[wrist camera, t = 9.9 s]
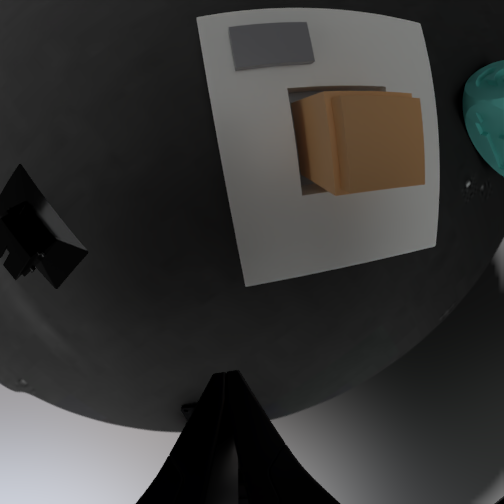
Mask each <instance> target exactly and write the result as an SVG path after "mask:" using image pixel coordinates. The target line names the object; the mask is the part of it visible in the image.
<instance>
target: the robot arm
mask: <svg viewBox="0 0 504 504" xmlns="http://www.w3.org/2000/svg"><path fill="white" fill-rule="evenodd" d="M181 411H182V413H183V414H184V416H185V418H186V419H187V421H188V422H187V423H186V425H185V427H184V429H183V431H182V432H181V434H180V436H179V438H178V440H177V442H176V444H175V445H174V447H173V449H172V451H171V452H170V456H168V457H167V459H166V461H165V463H164V465H163V467H162V468H161V470H160V471H159V473H158V475H157V476H156V478H155V479H154V480H153V482H152V483H151V485H150V486H149V488H148V489H147V490H146V491H145V493H144V494H143V495H142V496H141V498H140V499H139V500H138V502H137V503H136V504H340V503H339V502H338V501H337V500H336V499H335V498H333V497H332V496H331V495H330V494H329V493H328V492H327V491H326V490H325V489H324V488H323V487H322V486H321V485H320V484H319V483H318V482H316V480H314V478H312V476H311V475H310V474H309V473H308V472H307V471H306V470H305V469H304V468H303V467H302V466H301V464H300V463H299V462H298V460H297V459H296V458H295V456H294V455H293V454H292V452H291V451H290V449H289V448H288V446H287V445H285V443H284V441H283V439H282V438H281V436H280V435H279V434H278V432H277V430H276V429H275V427H274V426H273V424H272V423H271V421H270V420H269V418H268V416H267V415H266V413H265V412H264V410H263V409H262V407H261V405H260V404H259V402H258V401H257V399H256V397H255V396H254V394H253V393H252V391H251V389H250V388H249V386H248V384H247V383H246V381H245V379H244V378H243V376H242V374H241V373H240V371H239V370H235V371H229V372H227V373H225V372H221V373H215V374H213V375H212V377H211V379H210V381H209V383H208V384H207V386H206V388H205V390H204V392H203V394H202V396H201V398H200V399H199V401H198V403H197V404H193V405H183V406H182V407H181ZM495 504H504V497H502V498H501V499H500V500H499V501H497V502H496V503H495Z"/></svg>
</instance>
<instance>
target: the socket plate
mask: <svg viewBox="0 0 504 504" xmlns="http://www.w3.org/2000/svg"><path fill="white" fill-rule="evenodd" d="M197 24H198V30H199V37H200V43H201V49H202V54H203V60H204V66H205V72H206V78H207V84H208V89H209V95H210V101H211V107H212V112H213V118H214V123H215V129H216V134H217V140H218V145H219V151H220V156H221V162H222V167H223V173H224V178H225V183H226V189H227V194H228V199H229V205H230V210H231V215H232V220H233V225H234V231H235V236H236V241H237V246H238V251H239V256H240V261H241V266H242V271H243V276H244V281H245V286H246V287H248V286H253V285H258V284H264V283H269V282H274V281H279V280H284V279H289V278H295V277H300V276H304V275H309V274H314V273H319V272H324V271H329V270H333V269H338V268H343V267H347V266H352V265H357V264H361V263H366V262H370V261H375V260H379V259H383V258H388V257H392V256H396V255H401V254H405V253H409V252H413V251H417V250H422V249H426V248H430V247H434V246H435V245H436V235H437V224H438V209H439V179H440V167H439V137H438V123H437V112H436V103H435V95H434V88H433V81H432V75H431V69H430V64H429V59H428V54H427V49H426V45H425V40H424V36H423V32H422V28H421V25H420V23H416V22H412V21H408V20H404V19H399V18H394V17H389V16H384V15H378V14H371V13H364V12H357V11H347V10H336V9H321V8H272V9H256V10H245V11H235V12H227V13H220V14H214V15H208V16H202V17H197ZM323 91H384V92H401V93H412V98H420V103H421V112H422V122H423V135H424V153H425V185H417V186H408V187H400V188H391V189H383V190H375V191H368V192H360V193H353V194H346V195H339V196H335V195H333V194H332V193H330V192H328V191H327V190H325V189H324V188H322V187H320V186H319V185H317V184H316V183H314V182H312V181H311V180H309V179H307V178H306V177H304V176H302V175H301V172H300V164H299V156H298V149H297V141H296V134H295V127H294V121H293V114H292V108H291V103H293V102H295V101H298V100H301V99H303V98H306V97H309V96H311V95H314V94H317V93H320V92H323Z"/></svg>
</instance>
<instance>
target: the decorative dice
mask: <svg viewBox="0 0 504 504" xmlns="http://www.w3.org/2000/svg"><path fill="white" fill-rule="evenodd" d="M463 116H464V121H465V125H466V128H467V131H468V134H469V137H470V139H471V141H472V143H473V144H474V146H475V148H476V149H477V151H478V152H479V153H480V155H481V156H482V157H483V159H484V160H485V161H486V162H487V163H488V164H489V165H490V166H491V167H492V168H493V169H494V170H495V171H497V172H498V173H499V174H501V175H502V176H504V60H502V61H498V62H495V63H492V64H489V65H487V66H485V67H483V68H481V69H479V70H478V71H476V72H475V73H474V74H473V75H472V76H471V77H470V78H469V79H468V80H467V82H466V84H465V88H464V93H463Z"/></svg>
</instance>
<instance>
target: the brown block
mask: <svg viewBox="0 0 504 504" xmlns="http://www.w3.org/2000/svg"><path fill="white" fill-rule="evenodd" d="M291 108H292V114H293V121H294V127H295V134H296V141H297V149H298V156H299V164H300V172H301V175H302V176H304V177H306V178H307V179H309V180H311V181H312V182H314V183H316V184H317V185H319V186H320V187H322V188H324V189H325V190H327V191H328V192H330V193H332V194H333V195H335V196H339V195H346V194H353V193H360V192H368V191H375V190H383V189H391V188H400V187H408V186H417V185H425V153H424V135H423V122H422V112H421V103H420V98H412V93H401V92H384V91H323V92H320V93H317V94H314V95H311V96H309V97H306V98H303V99H301V100H298V101H295V102H293V103H291Z"/></svg>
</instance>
